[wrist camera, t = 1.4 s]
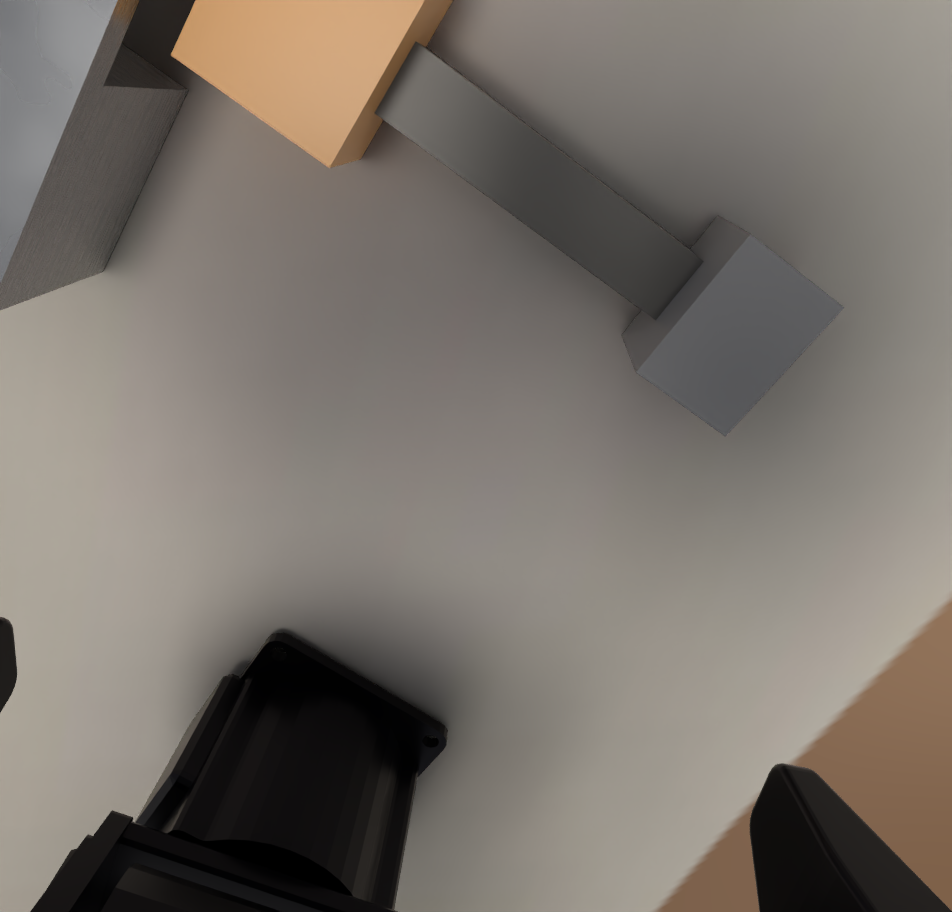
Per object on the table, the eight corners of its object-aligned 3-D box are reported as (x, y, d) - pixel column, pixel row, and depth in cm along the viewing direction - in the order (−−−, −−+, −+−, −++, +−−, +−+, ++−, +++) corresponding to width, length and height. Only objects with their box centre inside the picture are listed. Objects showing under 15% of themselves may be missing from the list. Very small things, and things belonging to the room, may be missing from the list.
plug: (805, 269, 18) (853, 297, 16) (692, 398, 20) (717, 445, 17) (315, -117, 16) (270, -164, 13) (228, 63, 17) (170, 54, 15)
